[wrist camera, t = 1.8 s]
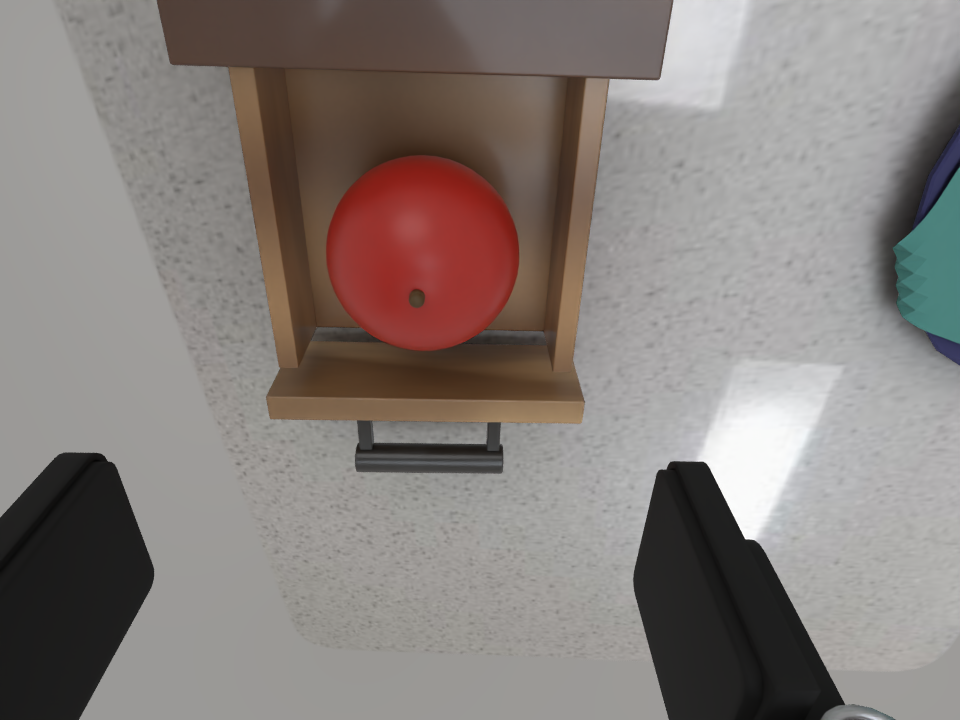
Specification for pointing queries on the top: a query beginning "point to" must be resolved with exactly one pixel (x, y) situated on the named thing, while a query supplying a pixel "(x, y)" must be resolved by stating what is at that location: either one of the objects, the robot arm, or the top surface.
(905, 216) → the top surface
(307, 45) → the cabinet
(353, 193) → the apple
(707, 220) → the top surface
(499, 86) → the drawer
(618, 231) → the top surface
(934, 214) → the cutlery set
